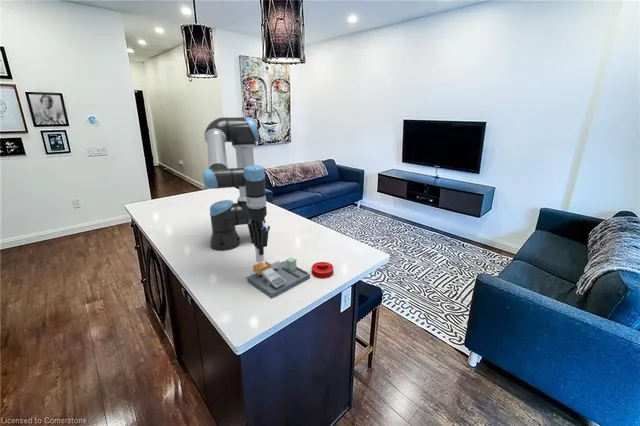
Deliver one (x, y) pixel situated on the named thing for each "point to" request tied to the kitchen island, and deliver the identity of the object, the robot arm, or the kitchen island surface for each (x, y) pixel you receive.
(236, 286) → the kitchen island surface
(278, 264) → the button
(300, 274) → the panel
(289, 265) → the pale green block
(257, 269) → the button
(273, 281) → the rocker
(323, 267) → the decorative ornament
